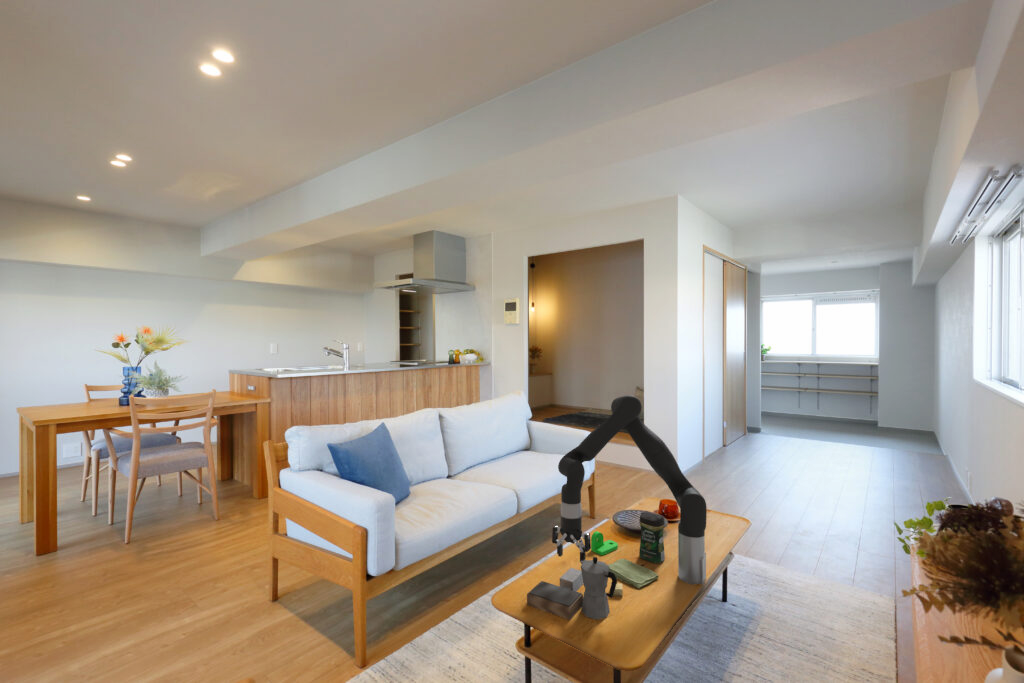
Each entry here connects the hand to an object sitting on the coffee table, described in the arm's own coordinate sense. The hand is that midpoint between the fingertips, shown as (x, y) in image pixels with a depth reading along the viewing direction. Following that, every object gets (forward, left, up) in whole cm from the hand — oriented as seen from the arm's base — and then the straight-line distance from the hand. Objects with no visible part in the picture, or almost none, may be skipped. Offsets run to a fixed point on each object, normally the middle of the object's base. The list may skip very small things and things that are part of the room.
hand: (571, 558), depth 169 cm
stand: (0, +13, -11) cm, 17 cm away
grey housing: (0, 0, -11) cm, 11 cm away
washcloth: (-15, -20, -11) cm, 28 cm away
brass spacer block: (-15, -5, -11) cm, 19 cm away
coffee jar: (-18, -38, -11) cm, 43 cm away
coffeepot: (-14, +9, -11) cm, 20 cm away
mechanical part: (+1, -36, -11) cm, 38 cm away
